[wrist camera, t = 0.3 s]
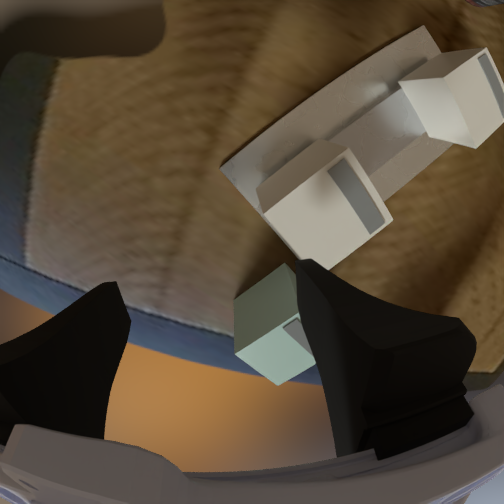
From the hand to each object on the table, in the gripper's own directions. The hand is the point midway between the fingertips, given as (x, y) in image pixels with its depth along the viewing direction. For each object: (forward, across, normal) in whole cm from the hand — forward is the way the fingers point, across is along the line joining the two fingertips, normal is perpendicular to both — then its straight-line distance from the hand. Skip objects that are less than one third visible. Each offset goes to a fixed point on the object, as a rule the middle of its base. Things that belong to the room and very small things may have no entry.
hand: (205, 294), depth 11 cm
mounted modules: (+8, -11, -5) cm, 15 cm away
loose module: (+10, -3, +8) cm, 13 cm away
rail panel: (+10, -11, -5) cm, 15 cm away
